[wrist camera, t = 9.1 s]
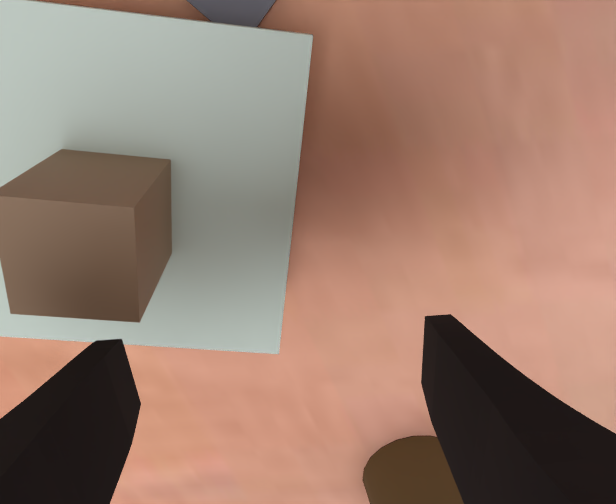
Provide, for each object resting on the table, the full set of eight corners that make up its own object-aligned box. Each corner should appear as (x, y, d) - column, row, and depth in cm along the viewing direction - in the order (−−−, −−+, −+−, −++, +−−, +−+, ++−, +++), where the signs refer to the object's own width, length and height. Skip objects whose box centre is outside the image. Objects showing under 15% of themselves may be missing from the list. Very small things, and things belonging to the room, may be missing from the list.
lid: (-92, -16, 13) (-276, -27, 9) (311, 34, 14) (322, 44, 10) (-18, 321, 18) (-113, 419, 14) (279, 341, 19) (277, 438, 15)
